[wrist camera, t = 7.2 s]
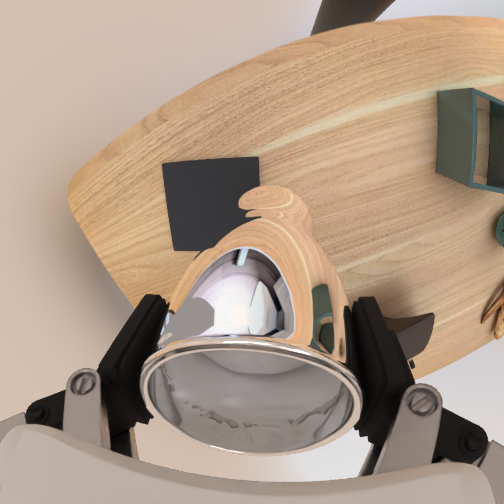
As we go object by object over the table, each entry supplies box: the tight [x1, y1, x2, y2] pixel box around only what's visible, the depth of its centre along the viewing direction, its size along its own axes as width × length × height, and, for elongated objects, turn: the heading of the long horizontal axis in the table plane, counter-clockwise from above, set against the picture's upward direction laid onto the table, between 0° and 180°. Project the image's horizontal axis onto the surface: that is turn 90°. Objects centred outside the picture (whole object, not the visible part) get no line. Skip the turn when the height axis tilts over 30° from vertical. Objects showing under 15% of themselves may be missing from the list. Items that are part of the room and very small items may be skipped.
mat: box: [162, 157, 259, 251], centre depth 34 cm, size 12×12×1 cm
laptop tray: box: [383, 312, 435, 369], centre depth 39 cm, size 23×23×9 cm
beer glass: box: [137, 185, 366, 456], centre depth 13 cm, size 7×7×15 cm
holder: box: [436, 88, 504, 194], centre depth 22 cm, size 11×11×8 cm
